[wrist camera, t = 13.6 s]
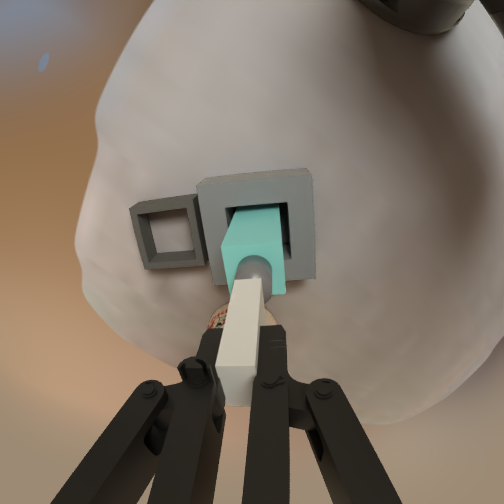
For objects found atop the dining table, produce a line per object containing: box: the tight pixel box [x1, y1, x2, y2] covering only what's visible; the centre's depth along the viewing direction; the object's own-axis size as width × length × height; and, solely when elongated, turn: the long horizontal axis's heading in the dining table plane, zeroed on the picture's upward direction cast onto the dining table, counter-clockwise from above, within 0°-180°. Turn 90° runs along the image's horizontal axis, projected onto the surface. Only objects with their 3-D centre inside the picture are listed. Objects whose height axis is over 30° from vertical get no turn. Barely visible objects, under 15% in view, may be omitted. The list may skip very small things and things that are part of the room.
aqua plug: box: [221, 203, 286, 304], centre depth 23 cm, size 4×4×14 cm
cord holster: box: [129, 194, 209, 270], centre depth 29 cm, size 7×7×2 cm
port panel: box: [196, 168, 316, 285], centre depth 27 cm, size 10×10×4 cm
